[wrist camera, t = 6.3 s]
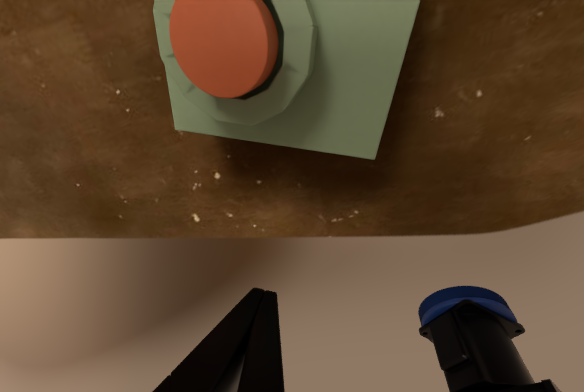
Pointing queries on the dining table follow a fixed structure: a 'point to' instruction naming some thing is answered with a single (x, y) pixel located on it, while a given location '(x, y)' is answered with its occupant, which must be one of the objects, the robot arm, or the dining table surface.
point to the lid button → (224, 44)
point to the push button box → (307, 77)
